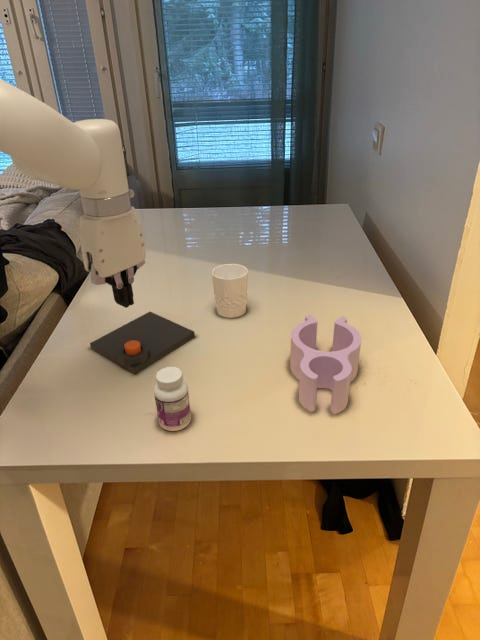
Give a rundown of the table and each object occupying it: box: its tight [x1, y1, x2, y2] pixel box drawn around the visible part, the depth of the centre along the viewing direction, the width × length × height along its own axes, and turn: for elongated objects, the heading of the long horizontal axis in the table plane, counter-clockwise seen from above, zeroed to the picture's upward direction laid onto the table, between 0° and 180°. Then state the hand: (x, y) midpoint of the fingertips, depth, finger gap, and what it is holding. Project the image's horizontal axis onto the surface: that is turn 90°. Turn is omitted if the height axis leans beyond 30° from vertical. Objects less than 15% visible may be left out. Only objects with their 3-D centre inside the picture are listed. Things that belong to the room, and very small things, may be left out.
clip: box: [289, 314, 362, 415], centre depth 84 cm, size 20×12×7 cm, turn 171°
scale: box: [89, 311, 196, 375], centre depth 95 cm, size 16×14×3 cm
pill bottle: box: [153, 366, 192, 432], centre depth 74 cm, size 5×5×10 cm
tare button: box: [124, 340, 141, 355], centre depth 89 cm, size 3×3×2 cm
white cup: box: [211, 263, 249, 319], centre depth 104 cm, size 8×8×10 cm
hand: (125, 303), depth 84 cm, fingers closed
